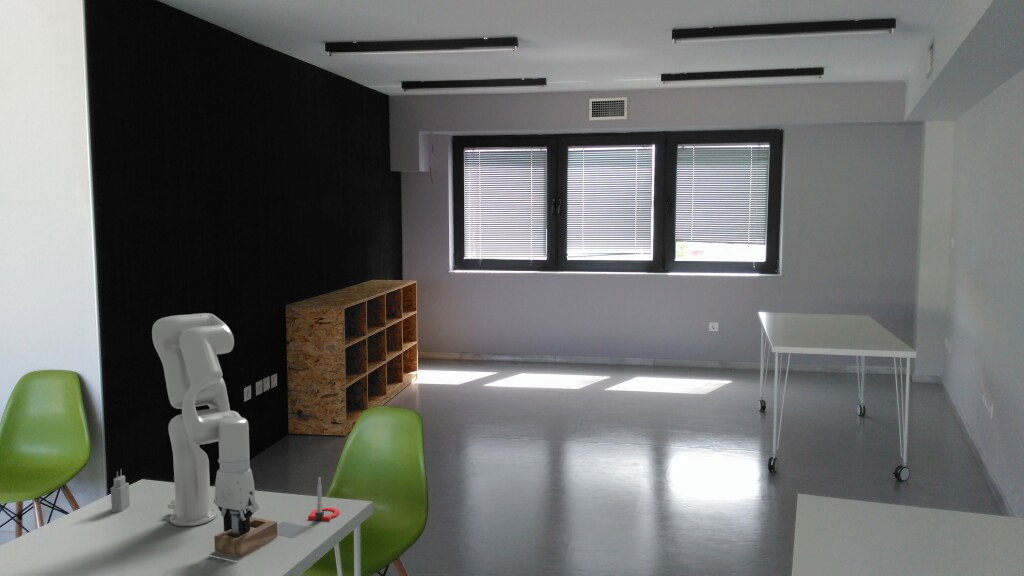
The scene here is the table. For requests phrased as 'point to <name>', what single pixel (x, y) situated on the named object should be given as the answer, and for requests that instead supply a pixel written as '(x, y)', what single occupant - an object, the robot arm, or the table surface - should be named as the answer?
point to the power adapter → (120, 494)
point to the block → (246, 538)
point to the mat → (290, 529)
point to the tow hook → (318, 513)
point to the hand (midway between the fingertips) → (237, 530)
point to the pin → (235, 523)
